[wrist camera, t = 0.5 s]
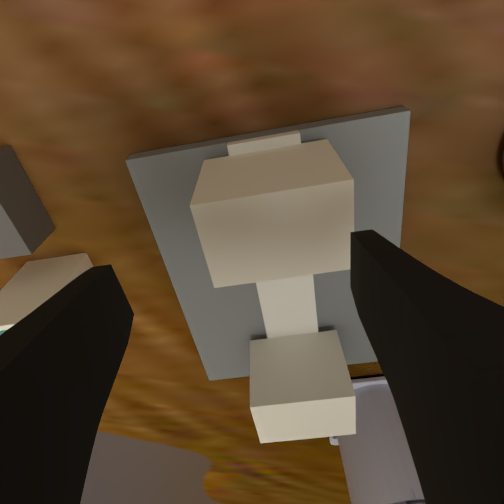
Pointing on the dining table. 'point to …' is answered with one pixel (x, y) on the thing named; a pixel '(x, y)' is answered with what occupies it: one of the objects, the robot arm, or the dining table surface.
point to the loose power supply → (19, 210)
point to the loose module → (38, 285)
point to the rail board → (240, 302)
